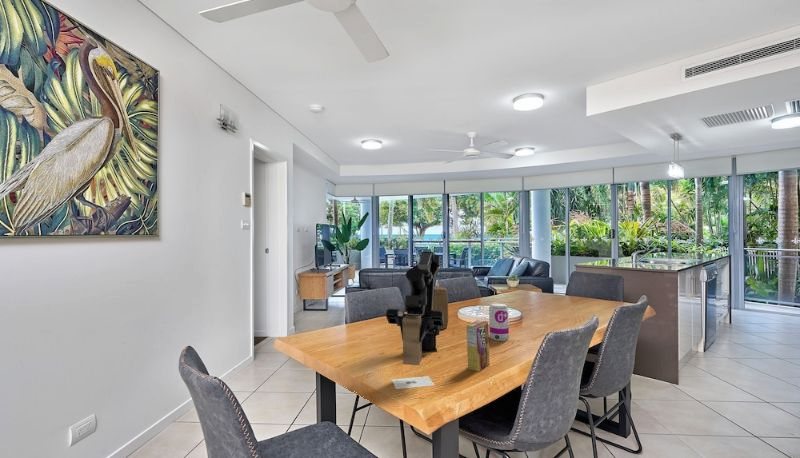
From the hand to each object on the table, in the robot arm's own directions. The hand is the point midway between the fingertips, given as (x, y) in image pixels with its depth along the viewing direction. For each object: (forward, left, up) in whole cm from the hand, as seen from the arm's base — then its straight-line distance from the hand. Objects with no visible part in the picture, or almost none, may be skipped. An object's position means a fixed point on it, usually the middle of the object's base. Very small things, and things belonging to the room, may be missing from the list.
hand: (411, 341), depth 108 cm
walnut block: (-1, -1, -7) cm, 7 cm away
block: (-29, -61, -13) cm, 69 cm away
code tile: (0, +1, -13) cm, 13 cm away
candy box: (-26, -7, -13) cm, 30 cm away
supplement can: (-49, -36, -13) cm, 62 cm away
